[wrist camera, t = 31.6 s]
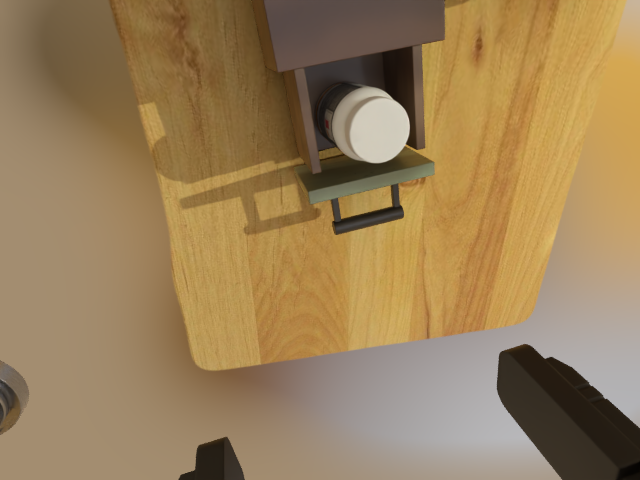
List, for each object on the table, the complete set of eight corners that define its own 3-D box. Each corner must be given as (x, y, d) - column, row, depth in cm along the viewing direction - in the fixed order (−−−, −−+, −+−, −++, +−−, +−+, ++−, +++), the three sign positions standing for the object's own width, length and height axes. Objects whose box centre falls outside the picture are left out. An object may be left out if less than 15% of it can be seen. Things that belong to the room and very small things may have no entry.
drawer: (402, 196, 43) (436, 224, 36) (304, 220, 41) (319, 253, 35) (388, -20, 33) (430, -38, 26) (260, 3, 32) (268, -10, 25)
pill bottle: (319, 149, 37) (347, 178, 29) (308, 87, 35) (336, 99, 26) (374, 136, 38) (418, 162, 29) (368, 75, 35) (415, 83, 27)
